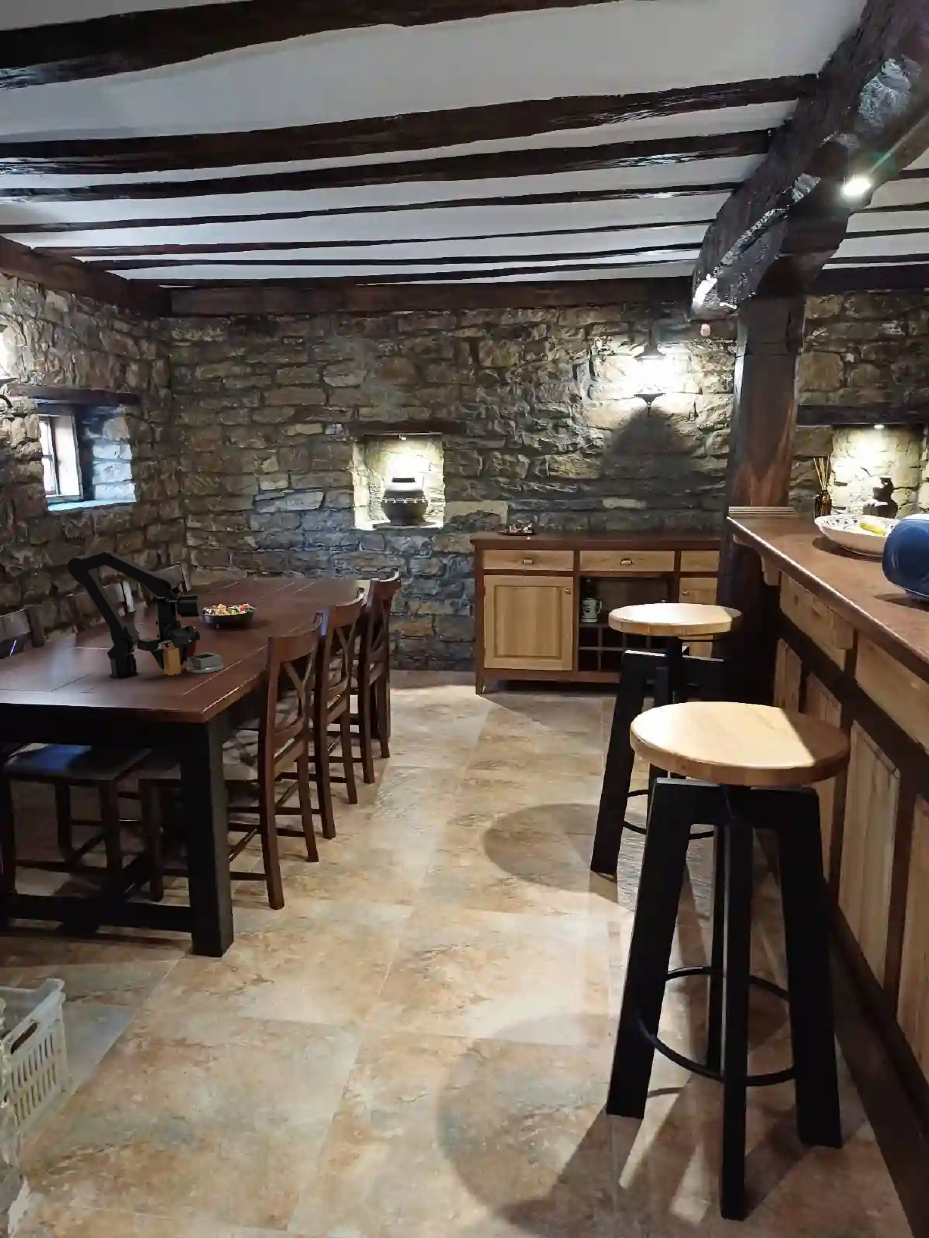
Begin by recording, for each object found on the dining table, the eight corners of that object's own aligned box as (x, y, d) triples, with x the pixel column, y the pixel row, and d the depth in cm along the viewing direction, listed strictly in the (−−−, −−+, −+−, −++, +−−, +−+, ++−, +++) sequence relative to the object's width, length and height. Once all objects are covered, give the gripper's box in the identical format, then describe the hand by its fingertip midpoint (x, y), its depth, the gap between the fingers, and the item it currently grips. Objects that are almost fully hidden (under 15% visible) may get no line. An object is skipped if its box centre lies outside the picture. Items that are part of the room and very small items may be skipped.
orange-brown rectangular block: (170, 675, 272) (168, 650, 270) (164, 674, 274) (162, 648, 273) (180, 673, 275) (178, 648, 273) (174, 671, 277) (172, 646, 275)
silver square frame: (200, 675, 271) (199, 662, 270) (180, 670, 278) (178, 657, 277) (230, 668, 279) (229, 655, 278) (210, 663, 286) (209, 650, 285)
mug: (163, 662, 289) (160, 632, 287) (168, 656, 297) (165, 627, 295) (197, 660, 290) (194, 630, 288) (200, 654, 298) (197, 625, 296)
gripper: (153, 626, 259) (159, 677, 262) (208, 615, 273) (213, 664, 276) (133, 621, 266) (139, 672, 269) (188, 611, 280) (192, 659, 283)
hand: (172, 667), depth 274 cm, fingers open, 6 cm apart
